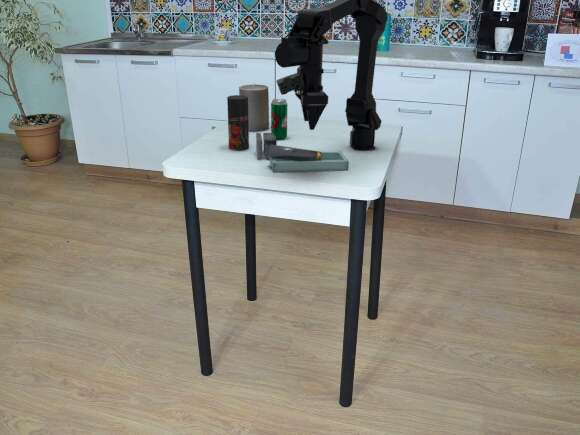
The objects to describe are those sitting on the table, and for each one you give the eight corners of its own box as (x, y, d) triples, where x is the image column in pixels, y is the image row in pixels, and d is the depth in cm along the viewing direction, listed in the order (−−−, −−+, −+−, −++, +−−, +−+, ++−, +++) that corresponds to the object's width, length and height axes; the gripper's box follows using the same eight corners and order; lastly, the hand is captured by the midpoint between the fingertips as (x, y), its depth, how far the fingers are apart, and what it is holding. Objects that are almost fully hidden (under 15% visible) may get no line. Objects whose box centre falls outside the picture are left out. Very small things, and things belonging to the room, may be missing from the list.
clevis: (273, 151, 160) (273, 132, 158) (276, 159, 153) (276, 140, 151) (256, 151, 160) (256, 132, 158) (258, 159, 153) (257, 140, 150)
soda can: (285, 140, 171) (285, 102, 166) (269, 139, 172) (269, 101, 167) (288, 136, 175) (289, 98, 171) (273, 135, 176) (273, 97, 171)
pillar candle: (268, 124, 189) (268, 80, 183) (269, 131, 180) (268, 85, 174) (240, 125, 189) (238, 80, 183) (239, 132, 180) (238, 85, 174)
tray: (341, 159, 153) (341, 151, 152) (348, 170, 145) (348, 161, 144) (269, 161, 151) (269, 153, 150) (272, 172, 143) (272, 163, 142)
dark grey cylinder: (317, 161, 150) (320, 149, 148) (319, 166, 147) (322, 154, 145) (267, 154, 147) (269, 142, 146) (268, 159, 144) (270, 146, 143)
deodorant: (253, 148, 163) (252, 97, 157) (238, 152, 159) (236, 100, 153) (239, 144, 167) (238, 94, 161) (224, 147, 163) (222, 97, 157)
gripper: (275, 58, 145) (274, 117, 151) (282, 69, 128) (282, 135, 134) (316, 58, 146) (314, 116, 152) (330, 69, 129) (327, 134, 135)
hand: (309, 125), depth 144 cm, fingers open, 9 cm apart
